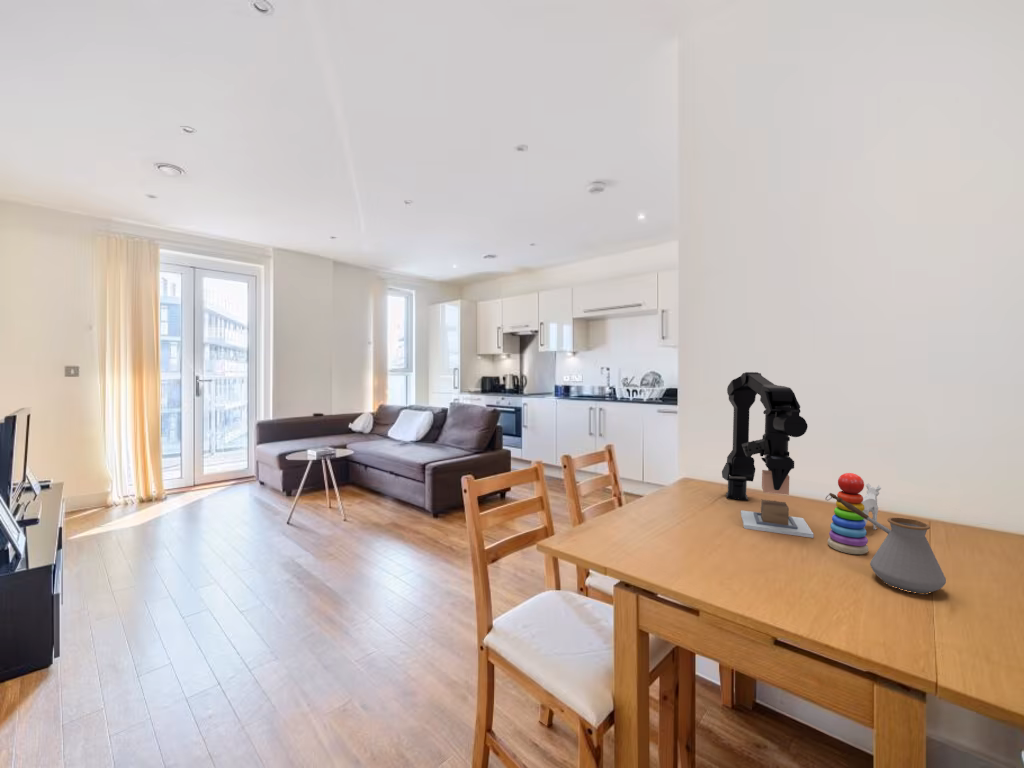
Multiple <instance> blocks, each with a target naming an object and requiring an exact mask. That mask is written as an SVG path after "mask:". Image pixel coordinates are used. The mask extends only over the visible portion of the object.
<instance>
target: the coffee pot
mask: <svg viewBox="0 0 1024 768" xmlns="http://www.w3.org/2000/svg"><path fill="white" fill-rule="evenodd" d="M829 496H830V498H829V499H827V498H828V497H829ZM831 499H834V500H836V501H837V502H840V503H842V504H843V505H844V506H845V507H846V508H848V509H849V510H851V511H853V512H854V513H856V514H858V515H859V516H861V517H863V518H864V519H866V520H868V521H869V523H871V524H872V525H873V524H874V525H876V528H879V529H880V530H882V531H883V532H884V533H886V534H887V536H886V537H885V539H884V540H883V542H882V543H881V545H880V546H879V548H878V549H877V550H876V552H875V554H874V555H873V557H872V558H871V560H870V562H869V566H870V568H871V569H872V571H873V573H874V574H875V575H876V576H877V577H878V578H879V579H880V580H881V579H882V580H883V581H884V582H885V583H887V584H889V585H891V586H894V587H897V588H900V589H903V590H907V591H911V592H916V593H929V592H932V593H933V592H936V591H937V592H938V591H939V590H940V589H942V588H943V587H945V585H946V583H947V578H946V576H945V575H944V572H943V570H942V568H941V565H940V564H939V562H938V560H937V557H936V555H935V554H934V552H933V549H932V546H931V545H930V543H929V541H928V539H927V537H926V534H927V531H928V530H930V529H931V526H930V525H929V524H927V523H926V522H923V521H921V520H917V519H911V518H905V517H898V516H897V517H889V518H887V521H886V522H888V523H889V524H890V529H889V528H888V527H887V526H884V525H883V524H881V523H880V522H878V520H877V521H875V520H873V517H872V518H871V517H870V516H869V514H868V515H866V514H865V513H863V512H862V511H860V510H859V509H858V508H856V507H855V506H853V505H852V504H850V503H848V502H846V501H844V500H842V498H838V497H837V494H834V493H832V492H829V493H828V494H827V495H826V497H825V501H830V500H831ZM868 521H867V522H868ZM882 580H881V581H882ZM883 581H882V582H883ZM884 582H883V583H884ZM885 583H884V584H885ZM887 584H886V585H887ZM889 585H888V586H889ZM891 586H890V587H891Z"/></svg>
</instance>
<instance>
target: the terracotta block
mask: <svg viewBox="0 0 1024 768" xmlns="http://www.w3.org/2000/svg"><path fill="white" fill-rule="evenodd" d="M761 489H762V491H763V493H769V494H777V495H779V494H780V495H786V496H787V495H788V496H789V495H790V475H789V474H788V475H787V477H786V479H785V480H784V482H783V484H782V486H781V487H780V489H779V490H775V489H774V485H773V479H772V473H771V471H769V470H768V469H767V470H766V469H762V471H761Z"/></svg>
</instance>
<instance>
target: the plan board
mask: <svg viewBox="0 0 1024 768" xmlns="http://www.w3.org/2000/svg"><path fill="white" fill-rule="evenodd" d="M740 516H741V520H742V524H743V525H742V526H743V528H744V529H747V530H753V531H762V532H767V533H775V534H781V535H782V534H783V535H789V536H790V535H791V536H797V537H798V536H799V537H805V538H812V539H814V537H815V534H814V532H813V531H812V529H811V527H810V526H809V525H808V523H807V522H806V520H805V518H803V517H798V516H790V515H789V519H788V525H783V524H776V523H768V522H763V521H762V518H761V512H760V511H759V512H757V511H750V510H740Z"/></svg>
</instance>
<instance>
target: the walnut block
mask: <svg viewBox="0 0 1024 768" xmlns="http://www.w3.org/2000/svg"><path fill="white" fill-rule="evenodd" d="M760 501H761V503H760V513H761V518H762V521H763V522H768V523H776V524H783V525H788V519H789V516H790V515H789V513H790V512H789V510H790V508H789V506H788V504H787V503H786V502H785V501H777V500H768V499H761V500H760Z"/></svg>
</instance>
